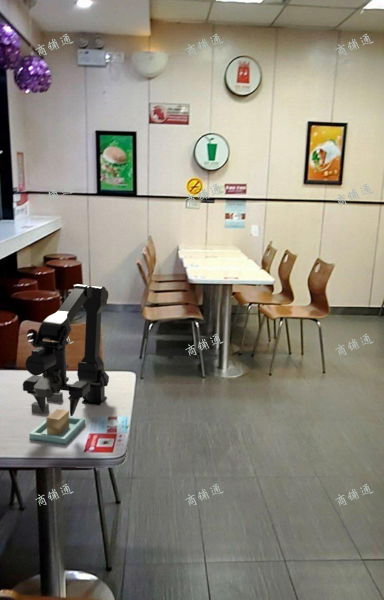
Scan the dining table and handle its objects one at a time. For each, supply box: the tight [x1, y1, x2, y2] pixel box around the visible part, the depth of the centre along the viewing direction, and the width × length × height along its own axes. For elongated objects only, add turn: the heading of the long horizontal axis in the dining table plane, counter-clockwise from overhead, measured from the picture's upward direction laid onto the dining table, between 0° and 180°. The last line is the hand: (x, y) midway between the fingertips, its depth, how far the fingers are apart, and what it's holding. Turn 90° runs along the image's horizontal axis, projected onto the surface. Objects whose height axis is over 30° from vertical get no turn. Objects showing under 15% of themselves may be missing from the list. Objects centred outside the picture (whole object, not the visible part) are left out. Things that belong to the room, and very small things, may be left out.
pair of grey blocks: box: [30, 391, 64, 414], centre depth 161 cm, size 5×11×2 cm, turn 166°
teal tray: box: [29, 415, 86, 446], centre depth 144 cm, size 11×13×2 cm
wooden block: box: [45, 408, 70, 436], centre depth 144 cm, size 4×6×5 cm, turn 166°
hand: (57, 413), depth 143 cm, fingers open, 9 cm apart
